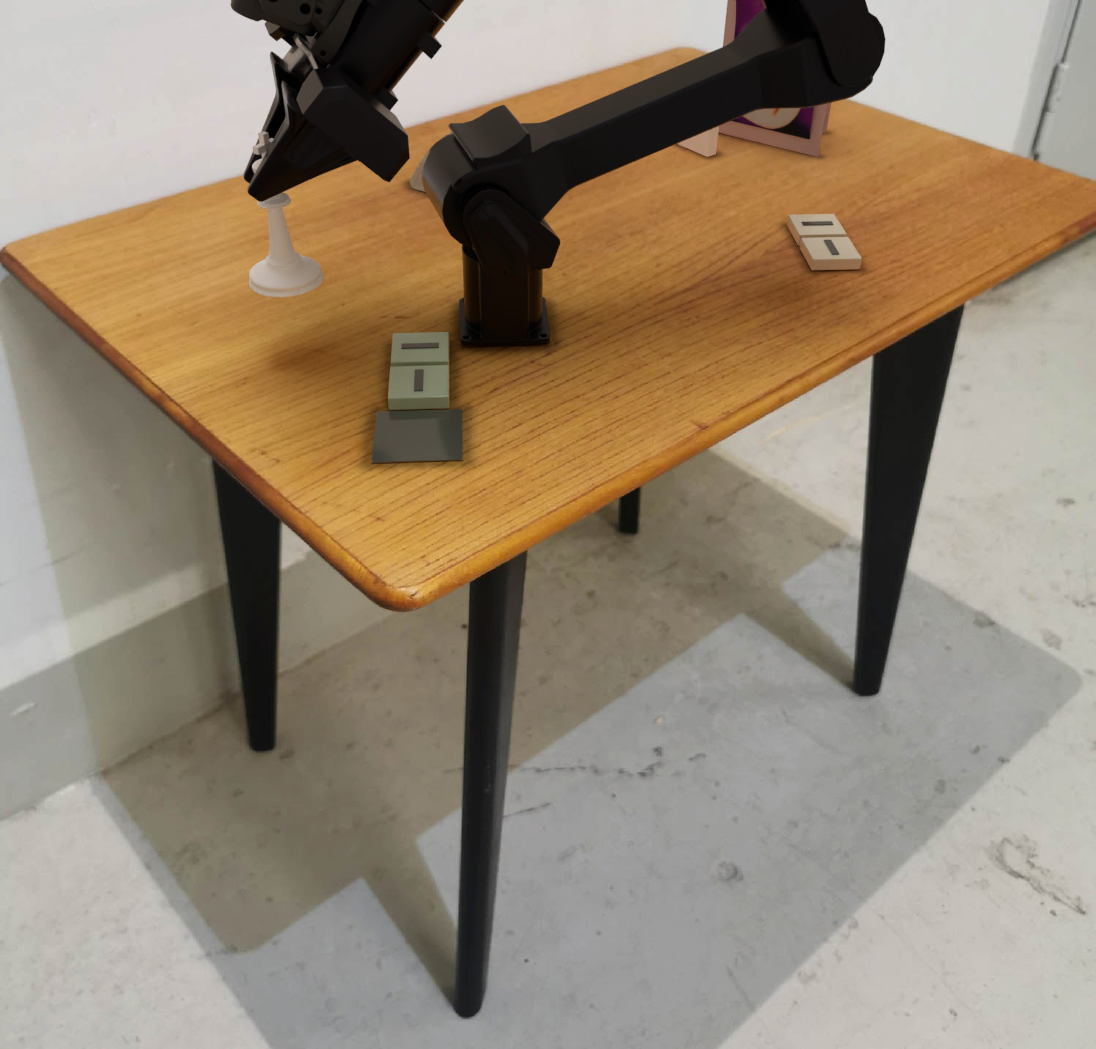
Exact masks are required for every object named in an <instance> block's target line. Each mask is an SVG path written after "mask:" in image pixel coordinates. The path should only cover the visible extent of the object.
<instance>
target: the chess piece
mask: <svg viewBox="0 0 1096 1049" xmlns="http://www.w3.org/2000/svg"><path fill="white" fill-rule="evenodd" d="M261 131H262V130H261ZM261 131H260V132H258V133H257V136H258V137H257V138H259V144H257V145H256V144H255V145H253V146H252V152H253V153H254V154H257V155H260V154H261V155H262V159H263V158H264V156H265V154H266V152H267V150H268V149H269V147H270V145H271V143H272V141H273V140H274V139H273V138H270V139H269V135H268V132H264V131H262V132H261ZM262 159H259V160H257V161H255V162H254V163H253V165H252V169H253V172H254V174H255V172H256V170H257V169H258V167H259V165H260V163H261V161H262ZM291 203H292V199H291V197H290V195H289V194H288V193H285V192H282V193H280V194H278V195H276V196H274V197H271V198H269V199H267V200H265V201H262V202H260V201H258V200H256V205H257V206H258V207H259V208H260V209H263V210H267V220H268V244H269V245H268V246H269V247H268V248H269V249H268V250H269V252H268V253H269V254H267V255H266V256H265V258H264V259H262V260H260V261H258V262H257V263H255V264H254V265H253V266H252V267H250V270H249V272H248V278H249V281H248V285H249V288H250V289H251V290H252V291H253V292H254V293H256V294H259V295H261V296H264V297H269V298H281V299H282V298H292V297H298V296H302V295H304V294H308V293H310V292H312V291H314V290H316V289H317V288H318V287H320V286H321V285H322V283H323V281H324V277H325V276H324V273H323V272H322V267H321V266H322V265H321V264H320V262H318V261H317V260H315V259H314V258H312V257H309V256H307V255H302V254H301V253H299V252H298V251H296V250H295V247H294V244H293V240H292V238H291V234H290V231H289V227H288V225H287V219H286V215H285V212H284V208H286V207H288V206H289V205H291Z"/></svg>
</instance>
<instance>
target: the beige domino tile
mask: <svg viewBox="0 0 1096 1049" xmlns="http://www.w3.org/2000/svg"><path fill="white" fill-rule="evenodd" d="M787 217H788V218H787V222H786V227H787V229H788V230H789V232H790V234H791V235H792V238H793V240H794V241H795V243H796V245H797V246H798V247H799V250H800V252H801V254H802V256H803V257H804V259H805V261H806V263H807V265H808V266H809V268H810V270H811V271H841V270H843V271H845V270H860V269H861V265H862V261H863V258H862V256H861V254H860V253H859V251H858V250H857V248H856V247H855V245H854V243H853V241H852V240H851V239H850V237H849V236H847V235H848V234H847V232H846V230H845V229H844V227H843V226H842V224H841V222H840V220H839V219H838V217H837V216H836V215H835V213H808V214H807V213H806V214H803V213H802V214H788V215H787Z"/></svg>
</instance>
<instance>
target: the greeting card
mask: <svg viewBox="0 0 1096 1049" xmlns="http://www.w3.org/2000/svg"><path fill="white" fill-rule="evenodd" d="M764 9H765V8H764V5H763V3H762V0H727V3H726V12H725V21H724V31H723V40H722V41H723V42H722V47H724V46H726V45H728V44H729V43H731V42H732V41H733V40H734V39H735V38H736V37H737V36H738V35H739V34H740V33H741V32H742V30H743V29H744V28H745V27H746V26H747V25H748V24H749V22H750V21H751V20H752V19H753V18H754V17H755V16H756V15H757V14H758V13H759V12H761V11H763V10H764ZM831 106H832V103H827V104H823V105H819V106H815V107H810V108H781V109H760V110H756V111H753V112H751V113H748V114H746V115H744V116H741V117H739V118H737V119H734V120H732V121H730V122H727V123H725V124H722V125H720V126H719V131H718V134H723V135H726V136H730V137H735V138H740V139H742V140H747V141H752V142H755V143H760V144H764V145H767V146H771V147H776V148H780V149H785V150H788V151H792V152H797V153H801V154H804V155H808V156H813V157H817V158H818V157H819V155H820V150H821V143H822V136H823V133H827V131H828V125H829V118H830V112H831V108H832V107H831Z"/></svg>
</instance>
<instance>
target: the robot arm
mask: <svg viewBox="0 0 1096 1049" xmlns="http://www.w3.org/2000/svg"><path fill="white" fill-rule="evenodd" d="M464 1H465V0H230V8H231V10H232V11H233V12H235V13H237V14H238V15H240V16H242V17H244V18H246V19H249V20H251V21H254V22H260V21H265V22H264V26H265V29H266V31H267V34H268V36H270V38H272V39H273V40H274V41H276V42H278V41H280V40H283V41H284V42H285V43H287V44H288V45H289V46H290V48H289V49H288V51H287V52H286V53H285V55H284V56H283V58H282V57H281V56H279V55H278V54H277V53H276V52H273V51H270V53H269V62H270V64H271V69H272V74H273V81H274V86H275V94H274V98H273V100H272V103H271V106H270V108H269V111H268V114H267V116H266V119H265V121H264V123H263V126H262V128H261V131H260V132H262V131H264V132H268V135H269V139H270V138H273V139H274V140H273V141H272V143H271V145H270V147H269V149H268V150H267V152H266V154H265V156H264V158H263V159H262V155H261V154H260V155H257V154H254V153H253V151H252V152H251V154H250V157H249V160H248V162H247V165H246V167H245V170H244V172H243V174H242V177H243V180H244V181H245V182H247V183H248V186H247V188H246V190H247V194H248V195H249V196H250V197H252V198H253V199H255V200H256V201H260V202H262V201H265V200H267V199H269V198H271V197H274V196H276V195H278V194H280V193H282V192H283V193H285V192H286V191H288V190H291V189H293V188H295V187H298V186H299V185H302V184H303V183H306V182H309V181H311V180H313V179H314V178H317V177H319V176H322V175H325V174H327V173H329V172H332V171H334V170H338V169H339V168H343V167H344V166H347V165H350V164H352V163H355V162H359V163H360V164H362V165H364V166H365V167H366V168H367V169H369V170H370V171H371V172H372V173H374V174H375V175H376V176H377V177H379V178H380V179H381V180H383V181H384V182H386V183H389V184H390V183H391V181H392V180H393V179H394V178H395V176H396V175H397V174H398V173H399V172H400V170H402V168H403V167H404V166H405V165H406V164H407V162H408V161H409V160H410V158H411V157H410V156H411V155H410V144H409V134H408V133H407V132H406V130H405V128H404V126H403V125H402V122H400V120H399V117H397V115H396V114H395V113H394V112H392V111H391V110H392V109H393V107H394V106H396V104H397V103H398V102H399V99H398V98H397V95H396V94H395V92H394V91H393V90H394V88H395V87H396V86H397V85H398V83H400V81H401V80H402V78H403V77H404V76H405V75H406V73H408V71H409V70H410V69H411V68H412V66H413V65H414V63H416V61H417V60H418V58H419V57H420V56H421V55H422V54H425V55H426V56H427V57H428V58H429V59H430V60H432V59H433V58H434V57H435V56H436V54H437V53H438V52H439V51H440V50H441V48H442V47H443V45H442V44H441V42H439V40H438V39H437V37H436V36H437V35H438V33H439V32H440V31H441V30H442V28H443V27H445V25H446V23H448V21H449V20H450V18H451V17H452V16H453V15H454V14H455V12H456V11H457V10H458V9H459V7H460V6H461V5H462V3H464ZM866 1H867V0H762V3H763V5H764V8H765V9H764V10H763V11H761V12H759V13H758V14H757V15H756V16H755V17H754V18H753V19H752V20H751V21H750V22H749V24H748V25H747V26H746V27H745V28H744V29H743V30H742V32H741V33H740V34H739V35H738V36H737V37H736V38H735V39H734V40H733V41H732V42H731V43H729V44H728V45H726V46H724V47H723V46H721V47H720V48H717V49H714V50H712V51H710V52H707V53H705V54H702V55H700V56H698V57H696V58H693V59H691V60H689V61H686V62H684V63H681V64H679V65H676V66H674V67H671V68H669V69H666V70H665V71H663V72H659V73H657V74H655V75H653V76H650V77H648V78H646V79H645V78H644V79H643V80H641V81H638V82H636V83H634V84H631V85H629V86H626V87H624V88H622V89H619V90H616V91H614V92H612V93H610V94H607V95H604V96H602V97H600V98H598V99H595V100H592V101H591V102H587V103H586V104H583V105H581V106H578V107H576V108H573V109H571V110H569V111H567V112H565V113H562V114H560V115H557V116H555V117H552V118H550V119H548V120H545V121H540V122H520V121H519V120H518V118H517V117H516V116H515V115H514V114H513V112H511V110H510V109H509V108H508V107H507V106H506V104H500V105H498V106H495V107H492V108H491V109H489V110H487V111H486V112H484V113H483V114H481V115H479V116H477V117H476V118H473V119H472V120H468V121H464V122H451V123H449V124H448V129H449V130H450V133H451V132H452V134H449V133H448V134H449V135H447V134H446V135H447V136H445V135H444V136H445V137H444V138H442V137H441V138H442V139H441V138H439V140H437V141H436V142H435V143H434V144H433V145H432V146H431V147H430V148H429V149H430V150H429V149H428V150H429V154H428V156H427V158H426V161H425V163H424V165H423V172H422V182H423V186H424V191H425V192H426V193H425V192H424V191H423V192H424V193H425V194H426V196H427V198H428V199H429V201H430V203H431V204H432V206H433V208H434V210H435V211H436V213H437V215H438V216H439V218H440V220H441V222H442V223H443V225H444V226H445V228H446V230H447V232H448V234H449V235H450V237H451V238H453V239H454V240H455V241H456V242H458V243H459V244H460V245H461V259H462V260H461V261H462V283H463V284H462V285H463V286H462V288H463V297H460V299H459V300H458V312H459V313H458V315H459V316H458V318H459V319H458V320H459V322H458V326H459V344H460V345H461V346H464V347H480V346H482V347H483V346H518V345H522V346H524V345H547V344H549V343H550V342H551V331H550V330H551V329H550V324H549V316H548V308H547V302H546V297H545V296H544V295H543V287H544V286H543V285H544V284H543V282H544V281H543V279H544V278H543V275H544V274H543V273H544V272H543V271H544V270H547V269H551V268H552V267H553V265H554V262H555V259H556V256H557V254H558V251H559V248H560V245H561V239H560V238H559V236H558V235H557V234H556V232H555V230H554V229H553V228H552V227H551V225H550V224H549V222H547V220H546V219H545V217H546V216H547V215H548V214H549V213H550V212H551V211H552V210H553V209H554V208H555V206H556V205H557V204H558V203H559V202H560V201H561V200H562V199H563V198H564V196H566V194H567V193H568V192H569V191H572V190H573V189H574V188H576V187H578V186H580V185H583V184H585V183H587V182H590V181H592V180H595V179H597V178H600V177H602V176H604V175H606V174H609V173H611V172H614V171H616V170H618V169H621V168H623V167H626V166H628V165H630V164H632V163H635V162H638V161H639V160H642V159H645V158H646V157H649V156H651V155H654V154H656V153H658V152H661V151H663V150H665V149H668V148H670V147H672V146H675V145H678V144H677V143H680V142H682V141H685V140H687V139H689V138H692V137H694V136H696V135H699V134H701V133H704V132H706V131H708V130H711V129H713V128H715V127H718V126H720V125H722V124H725V123H727V122H730V121H732V120H734V119H737V118H739V117H741V116H744V115H746V114H748V113H751V112H753V111H756V110H760V109H781V108H810V107H815V106H819V105H823V104H827V103H831V104H832V103H836V102H839V101H844V100H847V99H851V98H853V97H855V96H857V95H859V94H861V93H862V92H864V91H865V90H866V89H867V88H868V87H869V86H871V84H872V83H873V82H874V77H875V75H876V73H877V71H878V69H879V68H880V67H881V63H882V60H883V59H884V55H885V49H886V36H885V30H884V27H883V25H882V23H881V22H880V20H879V18H878V17H877V16H876V15H874V14H873V13H871V12H870V11H869V7H868V4H867V2H866ZM257 144H259V137H257V140H256V143H255V145H257ZM259 159H262V161H261V163H260V165H259V167H258V169H257V170H256V172H255V174H254V172H253V169H252V165H253V163H254V162H255V161H257V160H259Z"/></svg>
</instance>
